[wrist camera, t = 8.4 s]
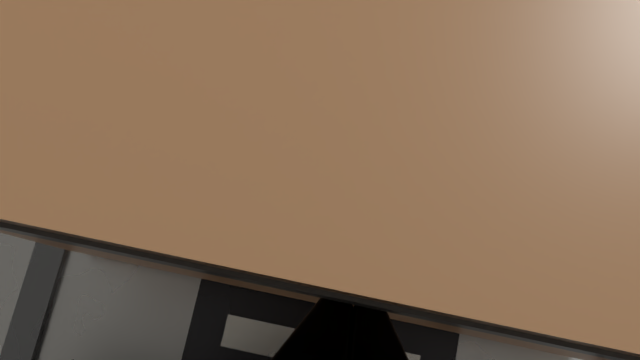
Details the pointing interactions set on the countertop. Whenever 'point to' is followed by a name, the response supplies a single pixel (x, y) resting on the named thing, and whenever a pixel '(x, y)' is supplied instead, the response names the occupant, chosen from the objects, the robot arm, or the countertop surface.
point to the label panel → (168, 315)
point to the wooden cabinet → (343, 153)
